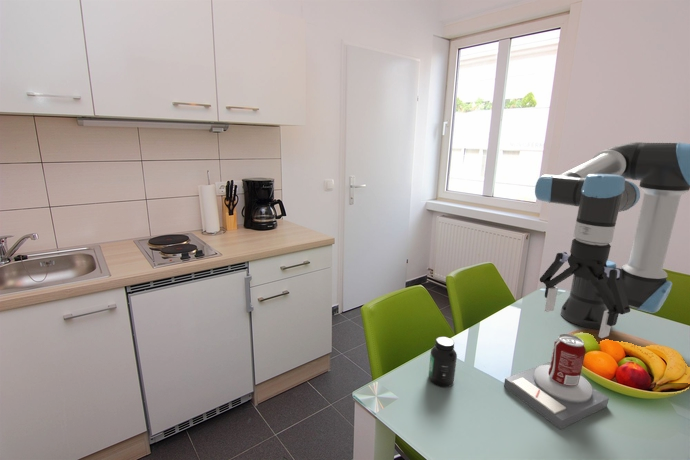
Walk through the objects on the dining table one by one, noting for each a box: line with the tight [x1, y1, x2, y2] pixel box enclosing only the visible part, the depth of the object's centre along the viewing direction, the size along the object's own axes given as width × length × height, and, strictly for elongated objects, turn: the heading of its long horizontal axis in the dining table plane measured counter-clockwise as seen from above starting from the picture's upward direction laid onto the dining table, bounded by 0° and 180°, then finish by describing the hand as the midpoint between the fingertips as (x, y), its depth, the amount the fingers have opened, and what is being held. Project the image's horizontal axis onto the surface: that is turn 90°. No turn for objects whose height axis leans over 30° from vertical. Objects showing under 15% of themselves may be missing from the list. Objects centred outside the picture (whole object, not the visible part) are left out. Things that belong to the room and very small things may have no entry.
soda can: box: [548, 333, 587, 387], centre depth 91 cm, size 7×7×12 cm
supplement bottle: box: [428, 336, 458, 388], centre depth 96 cm, size 7×7×12 cm
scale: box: [503, 361, 610, 430], centre depth 92 cm, size 18×16×4 cm
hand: (574, 322), depth 88 cm, fingers open, 13 cm apart
